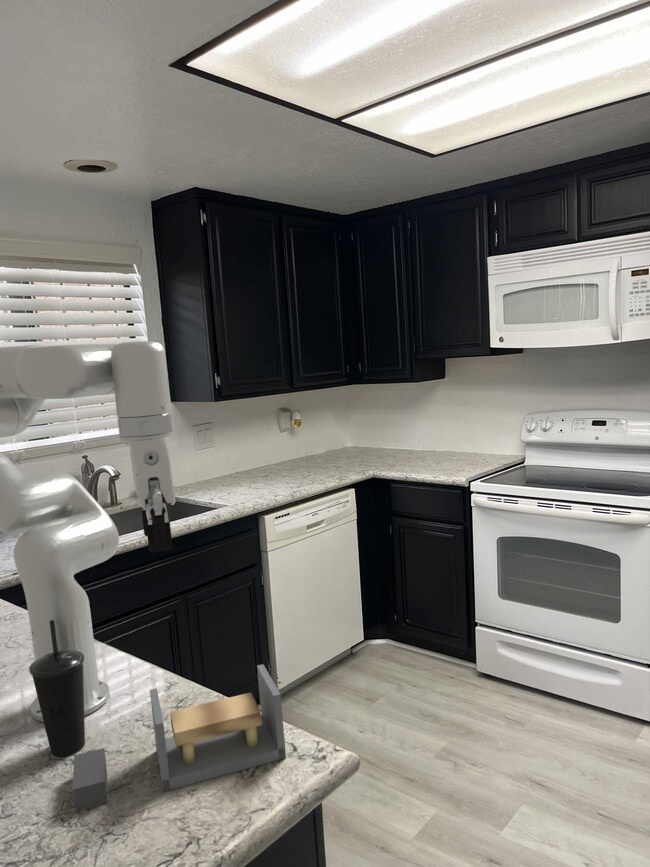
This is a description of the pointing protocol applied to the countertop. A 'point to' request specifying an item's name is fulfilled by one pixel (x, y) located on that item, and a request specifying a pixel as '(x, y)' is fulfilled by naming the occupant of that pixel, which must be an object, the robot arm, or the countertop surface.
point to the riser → (89, 779)
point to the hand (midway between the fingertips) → (157, 542)
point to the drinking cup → (61, 697)
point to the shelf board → (215, 719)
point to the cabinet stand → (222, 743)
